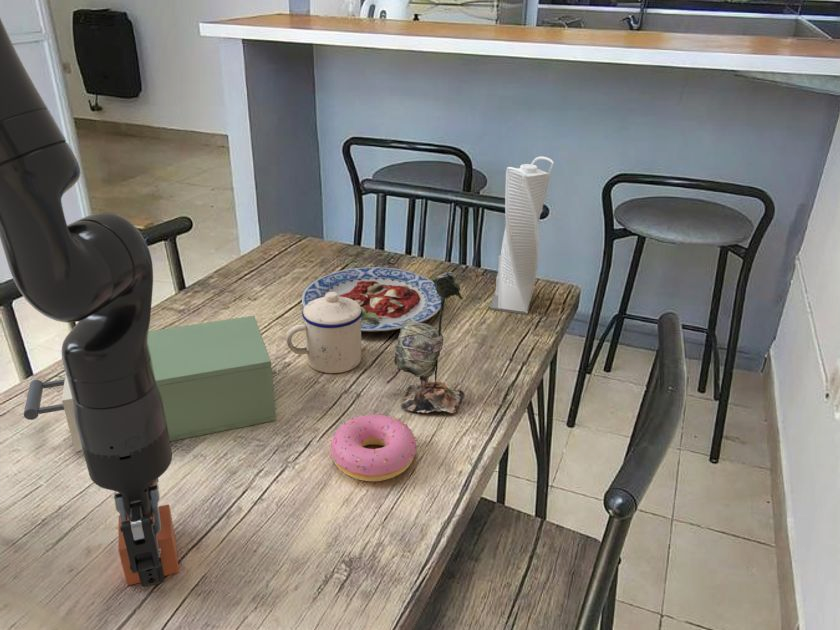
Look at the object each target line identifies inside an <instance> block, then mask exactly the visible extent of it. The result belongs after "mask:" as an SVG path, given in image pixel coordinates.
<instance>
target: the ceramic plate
mask: <svg viewBox="0 0 840 630" xmlns="http://www.w3.org/2000/svg"><path fill="white" fill-rule="evenodd" d="M328 292H336V293H337V294H338V296H340V297H346V298H349V299H352V300H354V301H356V302H357V303H358V304H359V305H360V307H361V309H362V316H361V332H388V331H395V330H399V329H400V330H401V327H402V325H403V323H404V321H406V320H415V321H418V322H420V323H424V322H425V321H427V320H430V319H431V318H432V317H433V316H435V315H436V314H437V313H438V312H440V310H441V305H440V303H441V298H442V297H440V296H439V295H438V293H437V290H436V287H435V284H434V280H431V279H429V278H427V277H425V276H423V275H422V274H419V273H415V272H412V271H409V270H404V269H399V268H391V267H379V266H378V267H377V266H374V267H373V266H372V267H368V266H367V267H356V268H348V269H343V270H338V271H335V272H332V273H329V274H326V275H324V276H322V277H319V278H317V279H316V280H314V281H313V282H311V283H310V284H309V285H308V286H307V287H306V288H305V289H304V291H303V292H302V295H301V304H302V307H303V309H304V308H305V306H306V305H307V304H308V303H309V302H311V301H313V300H315V299H318V298H322V297H325V295H326V294H327V293H328ZM406 315H408V316H407V317H406Z"/></svg>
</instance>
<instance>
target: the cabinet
mask: <svg viewBox="0 0 840 630" xmlns="http://www.w3.org/2000/svg"><path fill="white" fill-rule="evenodd" d="M148 346H149V350H150V354H151V359H152V364H153V370H154V375H155V380H156V384H157V386H158V389H159V392H160V394H161V397H162V402H163V407H164V412H165V418H166V423H167V428H168V433H169V439H170V442H174V441H179V440H185V439H189V438H190V439H191V438H194V437H199V436H204V435H209V434H214V433H215V434H216V433H220V432H225V431H230V430H234V429H239V428H244V427H249V426H254V425H259V424H265V423H270V422H274V421H277V416H276V415H277V413H276V404H275V402H276V401H275V392H274V381H273V372H272V371H273V369H272V360H271V357H270V355H269V353H268V350H267V347H266V344H265V341H264V338H263V336H262V333H261V330H260V328H259V325H258V322H257V320H256V317H255V315H249V316H242V317H235V318H230V319H229V318H228V319H222V320H214V321H208V322H201V323H195V324H188V325H182V326H181V325H180V326H174V327H168V328H167V327H166V328H160V329H153V330H149V331H148Z"/></svg>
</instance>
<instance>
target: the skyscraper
mask: <svg viewBox="0 0 840 630" xmlns="http://www.w3.org/2000/svg"><path fill="white" fill-rule="evenodd" d="M540 160H542V161H543V160H544V161H548V162H549V163H551V164H550V166H549V169H548V171H544V170H541V169H539V168H538V166H537V165H535V163H536V162H538V161H540ZM554 164H555V162H554V160H552V159H551V158H549V157H547V156H541V155H540V156H537V157H535V158H534V159H533V160H532V161H531V163H523V164H520V166H519V167H514V166H507V167H506V168H505V186H504V187H505V188H504V189H505V191H504V212H505V213H504V215H505V217H504V218H505V228H504V232H503V238H502V242H501V252H500V254H499V255H498V270H497V275H496V277H495V280H496V281H495V282H496V283H495V284H496V287H495V291H494V295H493V297H492V300H491V302H490V305H489V310H491V311H498V312H506V313H513V314H522V315H528V314H529V310H530V306H531V303H532V298H533V294H534V290H535V289H534V288H535V284H536V278H537V272H538V267H539V256H540V234H539V233H540V232H539V225H538V224H539V221H540V219H541V214H542V212H543V207H544V205H545V204H544V203H545V199H546V196H547V191H548V186H549V182H550V177H551V176H550V175H551V172H552V169H553V167H554Z"/></svg>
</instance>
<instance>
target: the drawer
mask: <svg viewBox="0 0 840 630" xmlns="http://www.w3.org/2000/svg"><path fill="white" fill-rule="evenodd" d="M62 386H63V389H62V395H61V397H62V398H61V403H59V404H54V405H47V406H42V407H41V404H42V397H43V391H44V389H50V388H57V387H62ZM59 411H64V413H65V414H64V415H65V418H66V422H67V425H68V430H69V433H70V436H71V440H72V444H73V448H74V451H75V452H79V451H80V452H81V451H83V449H82V446H81V442H80V438H79V434H78V430H77V427H76V423H75V418H74V408H73V400H72V395H71V391H70V387H69V383H68V380H67V376H66V372H65V373H64V379H58V380H53V381H52V380H51V381H47V382H43V381H42V380H39V379H34V380H31V382H30V383H29V386H28V392H27V397H26V401H25V406H24V410H23V417H24V418H25V419H26V420H29V421H33V420H36V419H37V418H38V417H39V415H43V414H49V413H53V412H54V413H55V412H59Z"/></svg>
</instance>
